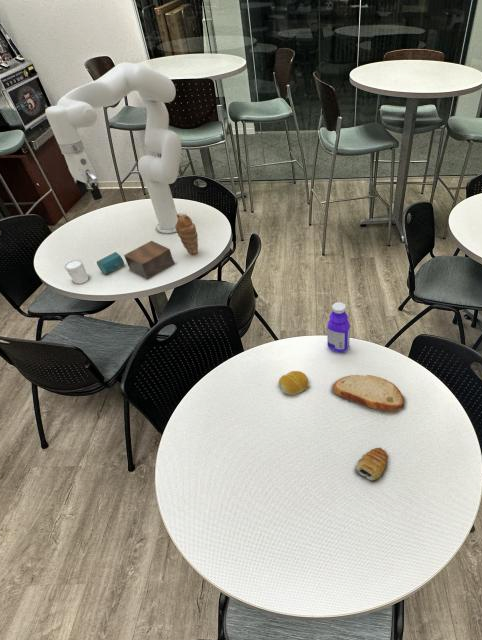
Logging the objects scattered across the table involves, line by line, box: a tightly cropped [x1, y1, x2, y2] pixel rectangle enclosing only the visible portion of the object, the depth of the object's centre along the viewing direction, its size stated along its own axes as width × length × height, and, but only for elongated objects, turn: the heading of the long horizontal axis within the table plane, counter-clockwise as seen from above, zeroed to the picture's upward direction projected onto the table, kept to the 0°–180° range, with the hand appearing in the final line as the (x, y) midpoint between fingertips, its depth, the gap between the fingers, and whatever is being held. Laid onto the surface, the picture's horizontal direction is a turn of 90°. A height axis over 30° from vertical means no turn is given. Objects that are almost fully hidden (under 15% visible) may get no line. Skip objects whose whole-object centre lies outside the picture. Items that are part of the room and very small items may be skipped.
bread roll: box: [278, 370, 309, 396], centre depth 130 cm, size 8×9×4 cm
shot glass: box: [64, 259, 89, 284], centre depth 171 cm, size 7×7×7 cm
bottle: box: [326, 302, 351, 354], centre depth 135 cm, size 7×6×17 cm
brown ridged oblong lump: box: [175, 213, 199, 256], centre depth 178 cm, size 9×8×18 cm
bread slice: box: [332, 374, 405, 412], centre depth 126 cm, size 18×18×4 cm
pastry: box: [354, 447, 388, 481], centre depth 110 cm, size 9×7×4 cm
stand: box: [123, 240, 175, 280], centre depth 176 cm, size 14×12×7 cm
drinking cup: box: [96, 251, 125, 275], centre depth 176 cm, size 8×6×6 cm
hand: (91, 196), depth 162 cm, fingers open, 9 cm apart
